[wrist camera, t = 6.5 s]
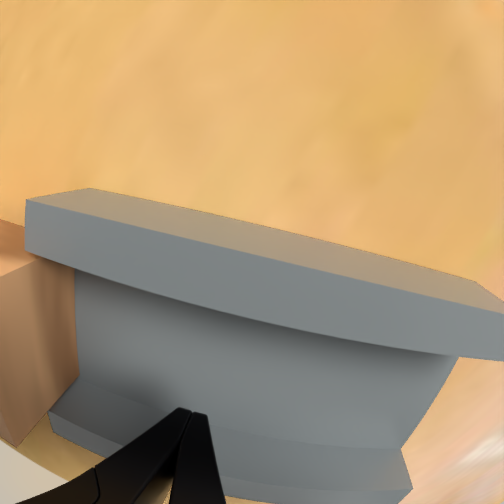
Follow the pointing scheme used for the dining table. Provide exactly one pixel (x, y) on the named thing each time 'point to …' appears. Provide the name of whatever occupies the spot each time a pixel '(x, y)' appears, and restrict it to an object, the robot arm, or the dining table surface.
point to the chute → (255, 343)
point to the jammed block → (33, 334)
